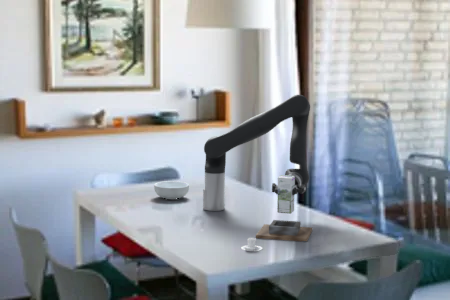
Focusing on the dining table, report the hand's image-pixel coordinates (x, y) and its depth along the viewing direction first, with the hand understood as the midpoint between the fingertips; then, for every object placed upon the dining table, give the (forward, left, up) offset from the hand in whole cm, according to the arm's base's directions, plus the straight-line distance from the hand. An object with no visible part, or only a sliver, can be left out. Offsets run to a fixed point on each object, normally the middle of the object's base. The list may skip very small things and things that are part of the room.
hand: (285, 192), depth 285 cm
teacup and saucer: (-12, -23, -18) cm, 31 cm away
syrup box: (0, +3, -9) cm, 9 cm away
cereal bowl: (-64, +54, -18) cm, 86 cm away
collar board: (0, +2, -18) cm, 18 cm away
